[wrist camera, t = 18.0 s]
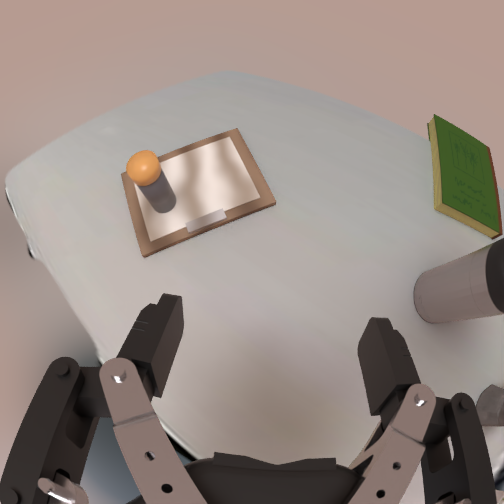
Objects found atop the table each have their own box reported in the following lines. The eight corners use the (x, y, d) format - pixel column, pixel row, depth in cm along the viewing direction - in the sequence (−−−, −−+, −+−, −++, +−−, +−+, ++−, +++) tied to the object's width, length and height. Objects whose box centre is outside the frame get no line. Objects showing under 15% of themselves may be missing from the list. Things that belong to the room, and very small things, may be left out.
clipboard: (237, 131, 48) (237, 125, 46) (275, 204, 44) (276, 199, 42) (123, 176, 45) (119, 171, 43) (144, 257, 41) (140, 254, 39)
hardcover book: (491, 239, 44) (502, 234, 40) (432, 210, 45) (442, 202, 41) (481, 152, 50) (488, 145, 47) (426, 121, 51) (433, 111, 48)
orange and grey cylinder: (173, 186, 43) (153, 145, 32) (180, 207, 42) (160, 170, 31) (149, 195, 43) (124, 158, 32) (155, 217, 42) (129, 183, 31)
